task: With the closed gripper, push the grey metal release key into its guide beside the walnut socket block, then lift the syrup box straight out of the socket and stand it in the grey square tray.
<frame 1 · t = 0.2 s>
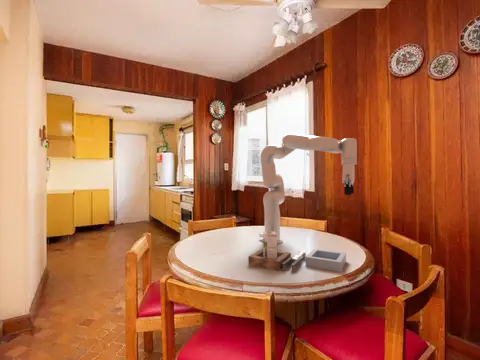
hand: (349, 194, 138), 31 cm above the table, tool pointing down, fingers open, 9 cm apart
syrup box: (270, 263, 122), resting in socket block
socket block: (270, 263, 122), on the table
grey square tray: (326, 263, 120), on the table
release key: (298, 258, 124), point 2 cm above the table, slide at 0.0 cm
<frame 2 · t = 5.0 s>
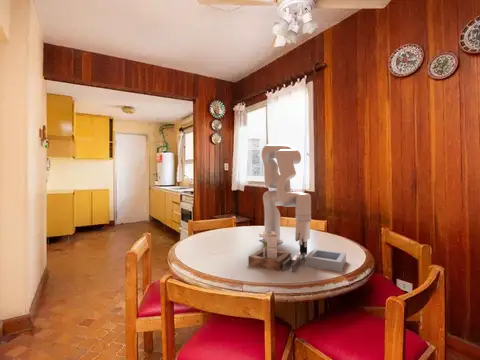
hand: (303, 254, 130), 1 cm above the table, tool pointing down, fingers closed
release key: (298, 258, 123), point 2 cm above the table, slide at 1.0 cm, touching gripper
everything else where it was.
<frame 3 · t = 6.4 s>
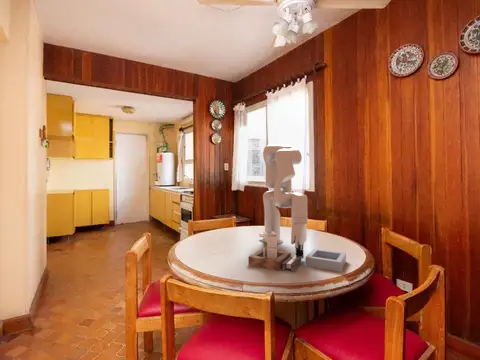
hand: (299, 257, 125), 1 cm above the table, tool pointing down, fingers closed
release key: (293, 262, 118), point 2 cm above the table, slide at 7.1 cm, touching gripper
everything else where it was.
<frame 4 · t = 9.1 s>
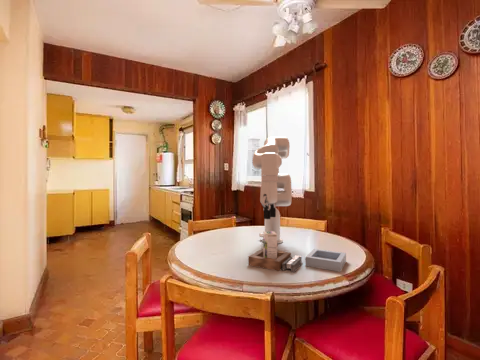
hand: (269, 217, 122), 21 cm above the table, tool pointing down, fingers open, 5 cm apart
release key: (293, 262, 118), point 2 cm above the table, slide at 7.0 cm
everything else where it was.
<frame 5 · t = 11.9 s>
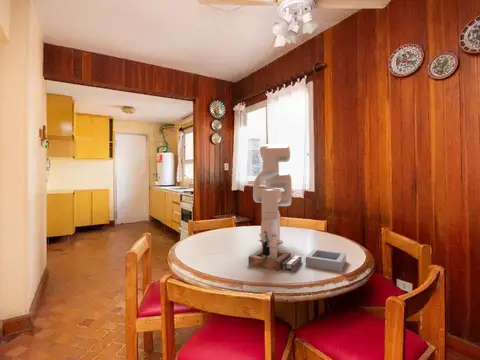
hand: (270, 252, 122), 5 cm above the table, tool pointing down, fingers closed on syrup box, 8 cm apart
syrup box: (270, 263, 122), resting in socket block, touching gripper
everything else where it was.
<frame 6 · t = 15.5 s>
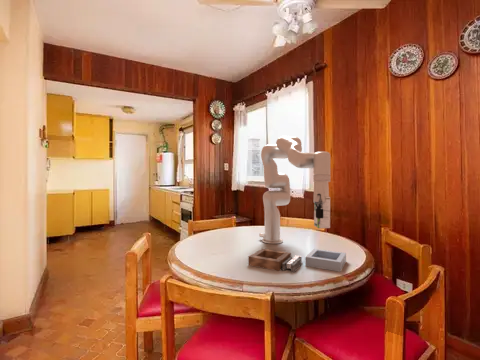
hand: (322, 216, 120), 22 cm above the table, tool pointing down, fingers closed on syrup box, 8 cm apart
syrup box: (322, 227, 120), point 17 cm above the table, touching gripper
everything else where it was.
when the fingers open (8 cm above the table, at t = 19.1 s): syrup box drops 2 cm, resting on grey square tray.
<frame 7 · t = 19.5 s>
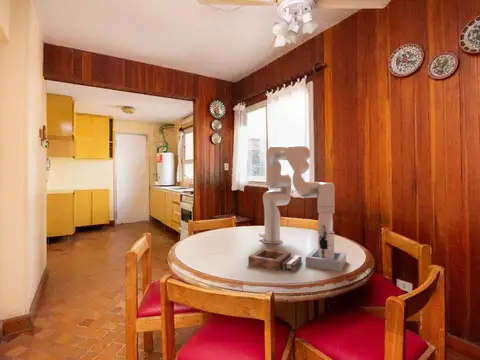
hand: (326, 246, 120), 8 cm above the table, tool pointing down, fingers open, 9 cm apart
syrup box: (326, 261, 121), point 1 cm above the table, touching grey square tray
everything else where it was.
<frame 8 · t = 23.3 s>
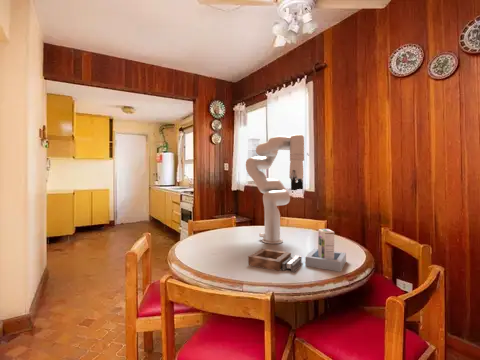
hand: (297, 189, 140), 33 cm above the table, tool pointing down, fingers open, 9 cm apart
nothing on the table moved.
at the end: release key slide at 7.0 cm; syrup box 0.4 cm off-centre on the grey square tray, point 0.8 cm above the grey square tray's base; syrup box tilted 0° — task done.
